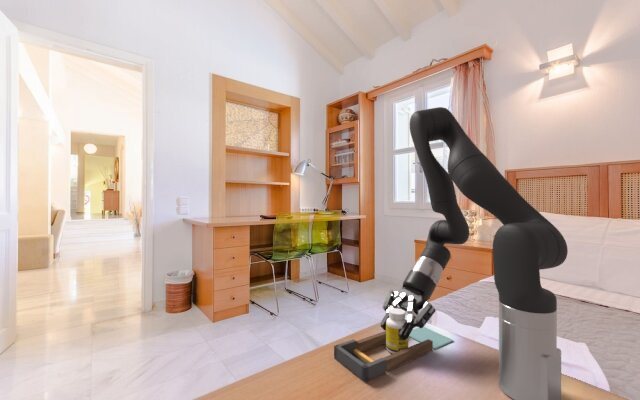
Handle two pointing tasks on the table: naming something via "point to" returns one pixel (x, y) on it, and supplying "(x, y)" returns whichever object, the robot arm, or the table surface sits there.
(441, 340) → the pad
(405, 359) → the chute
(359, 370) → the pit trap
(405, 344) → the supplement bottle
